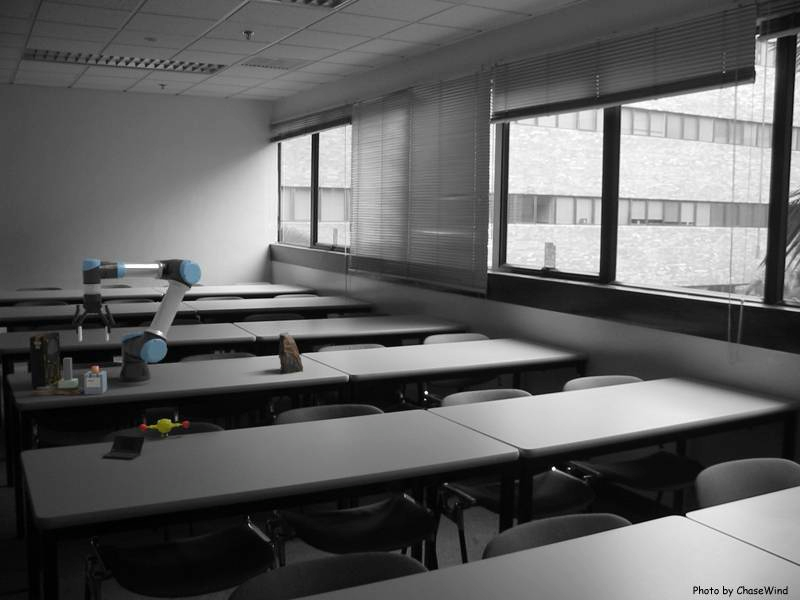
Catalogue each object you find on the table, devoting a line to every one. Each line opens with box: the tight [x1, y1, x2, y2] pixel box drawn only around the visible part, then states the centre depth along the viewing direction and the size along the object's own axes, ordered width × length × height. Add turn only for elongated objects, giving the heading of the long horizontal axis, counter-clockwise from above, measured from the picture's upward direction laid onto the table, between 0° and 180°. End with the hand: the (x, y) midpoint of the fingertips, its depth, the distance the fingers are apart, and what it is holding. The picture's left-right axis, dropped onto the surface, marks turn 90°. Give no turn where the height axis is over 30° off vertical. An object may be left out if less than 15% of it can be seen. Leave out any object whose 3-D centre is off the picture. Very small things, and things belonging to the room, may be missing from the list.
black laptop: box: [102, 435, 145, 461], centre depth 268 cm, size 12×7×10 cm
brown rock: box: [278, 331, 304, 375], centre depth 412 cm, size 13×13×20 cm
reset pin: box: [91, 365, 100, 378], centre depth 359 cm, size 3×3×5 cm
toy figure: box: [138, 418, 190, 438], centre depth 290 cm, size 18×6×7 cm, turn 109°
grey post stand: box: [57, 357, 79, 388], centre depth 357 cm, size 7×6×13 cm
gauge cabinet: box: [83, 370, 108, 395], centre depth 359 cm, size 8×8×9 cm
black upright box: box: [29, 331, 62, 390], centre depth 370 cm, size 16×9×25 cm, turn 177°
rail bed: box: [33, 385, 83, 396], centre depth 357 cm, size 19×7×3 cm, turn 98°
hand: (93, 340), depth 357 cm, fingers open, 11 cm apart
